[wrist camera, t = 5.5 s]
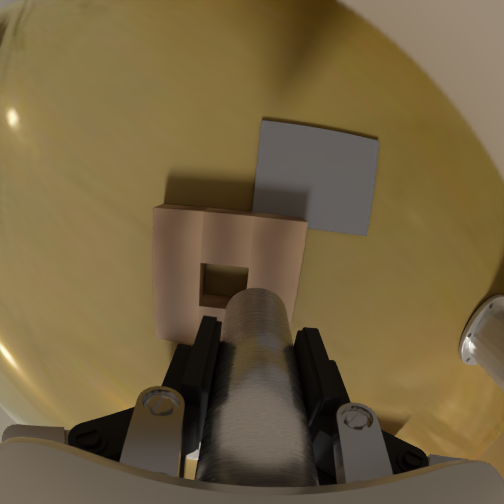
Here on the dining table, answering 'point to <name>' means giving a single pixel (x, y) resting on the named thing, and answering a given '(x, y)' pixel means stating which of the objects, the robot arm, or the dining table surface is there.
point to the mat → (316, 176)
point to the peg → (256, 401)
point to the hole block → (218, 261)
